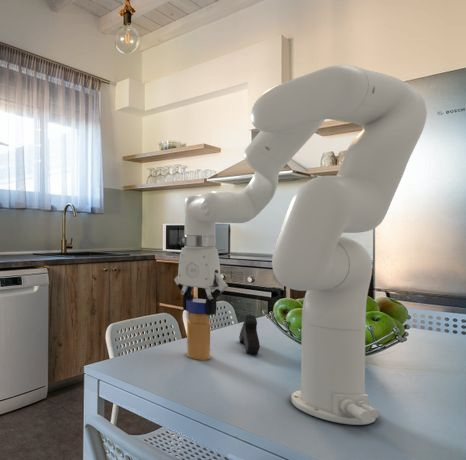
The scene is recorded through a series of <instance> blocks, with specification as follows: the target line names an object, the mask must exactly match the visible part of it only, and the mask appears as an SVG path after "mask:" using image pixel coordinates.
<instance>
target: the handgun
mask: <svg viewBox="0 0 466 460" xmlns="http://www.w3.org/2000/svg"><path fill="white" fill-rule="evenodd" d="M257 326H258V320H257V318H256V316H255V315H253V314H251V313H249V314H247V315H245V317H244V320H243V323H242V326H241V329H240V331H239V336H238V339H239V344H244V349H245V353H246V354H247V355H258V354H259V352H260V348H261V345H260V339H259V335H258V330H257V329H258V327H257Z"/></svg>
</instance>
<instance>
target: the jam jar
mask: <svg viewBox="0 0 466 460" xmlns="http://www.w3.org/2000/svg"><path fill="white" fill-rule="evenodd" d="M187 314H188V320H187V323H186V326H187V327H186V328H187V329H186V330H187V331H186V356H187V357H188V358H190V359H193V360H197V361H198V360H199V361H207V360H210V358H211V322H210V315H206V314H200V313H192V312H188V313H187Z"/></svg>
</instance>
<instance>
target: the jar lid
mask: <svg viewBox="0 0 466 460" xmlns="http://www.w3.org/2000/svg"><path fill="white" fill-rule="evenodd" d="M206 299H207V298H205V299H204V298H193V299H187V300H186V310H185V311H186V312H188V313H189V312H192V313H200V314H206Z"/></svg>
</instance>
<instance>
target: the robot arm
mask: <svg viewBox="0 0 466 460" xmlns="http://www.w3.org/2000/svg"><path fill="white" fill-rule="evenodd" d="M427 110H428V109H427V105H426V102H425V98H424V97H423V95H422V94H421V93H420V92H419V91H418V90H417V88H415V87H414V86H413V85H411V84H410V83H407V82H406V81H404V80H402V79H400V78H397V77H394V76H392V75H388V74H387V73H386V74H385V73H382V72H378V71H375V70H369V69H366V68H362V67H358V66H354V65H348V64H338V65H330V66H326V67H324V68H321V69H318V70H315V71H312V72H310V73H307V74H304V75H301V76H298V77H296V78H293V79H290V80H288V81H284V82H282V83H280V84H277V85H275V86H273V87H271V88H269V89H267V90H266V91H265V92H263V93H262V94H261V95H259V97H258V98H257V99H256V101H255V102H254V103H253V106H252V107H251V111H250V121H251V124H252V126H253V127H254V128H255V129H256V130H258V131H259V132H258V133H257V134H256V135H255V137H254V138H253V139H252V141H251V142H249V144H248V145H247V147H246V148H245V149H244V152H243V158H244V161H245V162H246V164H247V165H248V166H249V167H250V168H251V169H252V170H254V174H253V176H252V178H251V180H250V181H249V183H248V184H247V185H246V186H245V187H244V188H243V189H242V190H241V191H240V192H235V191H209V192H206V193H203V194H193V195H189V196H187V197H186V198H185V200H184V232H183V233H184V235H183V236H184V237H183V238H182V239H181V242H182V244H183V245H184V247H181V249H180V253H179V260H178V269H177V270H178V271H177V272H178V273H177V275H176V276H175V278H174V279H173V280H174V282H175V284H176V285H177V288H178V289H179V291H180V294H181V295H182V309H183V311H186V300H187V299H194V294H192V292H193V289H194V288H198V289H204V290H205V293H206V297H207V298H205V299H206V315H209V316H214V315H216V314H217V299H219V298H220V296H221V295H222V294H224V293H223V292H225V290H227V289H228V287H229V284H227V283H226V281H225V280H224V278H223V277H221V263H220V257H219V251H218V248H216V224H244V223H249V222H250V221H252V220H253V219H255V218H256V217H257V215H259V214H260V213H261V212H262V211H263V210H264V209H265V208H267V205H268V204H270V202H271V201H272V200H273V198H274V196H275V194H276V191H277V188H278V185H279V177H280V176H279V174H280V173H281V171H282V170H283V169H284V167H286V166H287V164H288V163H289V162H290V161H291V160H292V159H293V158H294V157H295V155H296V154H297V153H298V152H299V151H300V150H301V149H302V148H303V146H305V144H306V143H307V142H308V141H309V140H310V139H311V138H312V137H313V135H314V134H315V133H316V132H317V131H318V130H319V129H320V127H321V126H322V125H323V123H324V122H325V120H330V121H337V122H343V123H349V124H355V125H359V126H360V127H361V131H360V132H359V133H358V134H357V136H355V138H354V139H353V140H352V142H350V144H349V146H348V147H347V149H346V151H345V154H344V156H343V160H342V162H341V164H340V167H339V170H338V172H337V173H336V175H321V176H317V177H314V178H312V179H309V180H308V181H306V182H305V183H303V184H302V185H301V186H300V187H299V188H298V189H297V190H296V192H295V194H294V195H293V197H292V199H291V200H290V202H289V205H288V207H287V208H288V209H287V211H286V214H285V216H284V220H283V222H282V225H281V228H280V231H279V234H278V237H277V239H276V243H275V245H274V248H273V252H272V257H271V265H272V266H271V267H272V271H273V274H274V276H275V278H276V280H277V281H278V282H279V283H280V284H281V285H282V286H284V287H285V288H288V289H291V290H294V291H300V292H305V294H304V298H303V302H302V307H301V309H302V310H301V337H300V338H301V339H300V340H301V342H300V343H301V344H300V345H301V348H300V349H301V350H300V351H301V352H300V353H301V354H300V355H301V357H300V365H301V366H300V390H296V391H294V392H292V394H291V396H290V398H291V399H290V400H291V401H290V402H291V404H293V406H294V407H295V408H297V409H298V410H299V411H301V412H303V413H306V414H307V415H310V416H313V417H315V418H318V419H321V420H325V421H328V422H333V423H336V424H337V423H338V424H343V425H351V426H353V425H354V426H365V425H370V424H372V423H374V422H375V421H376V419H377V418H379V417H380V410H378V409H376V408H374V407H372V406H371V405H369V404H370V396H369V394H366V325H367V324H366V322H367V321H366V319H367V301H368V294H369V289H370V286H371V285H370V284H371V280H372V276H373V275H372V274H373V263H372V258H371V255H370V254H369V252H368V250H367V249H366V248H365V247H364V246H363V245H362V244H361V243H359V242H358V241H356V240H354V239H352V238H348V237H344V236H342V234H357V233H358V234H359V233H367V232H369V231H372V230H374V229H376V228H377V227H378V226H380V225H381V223H383V221H384V219H385V217H386V215H387V214H388V211H389V208H390V207H391V203H392V201H393V199H394V197H395V194H396V192H397V190H398V188H399V185H400V183H401V180H402V178H403V176H404V173H405V171H406V169H407V166H408V163H409V161H410V159H411V156H412V154H413V152H414V150H415V148H416V146H417V144H418V142H419V140H420V138H421V135H422V133H423V131H424V128H425V126H426V121H427V113H428V111H427Z"/></svg>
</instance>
